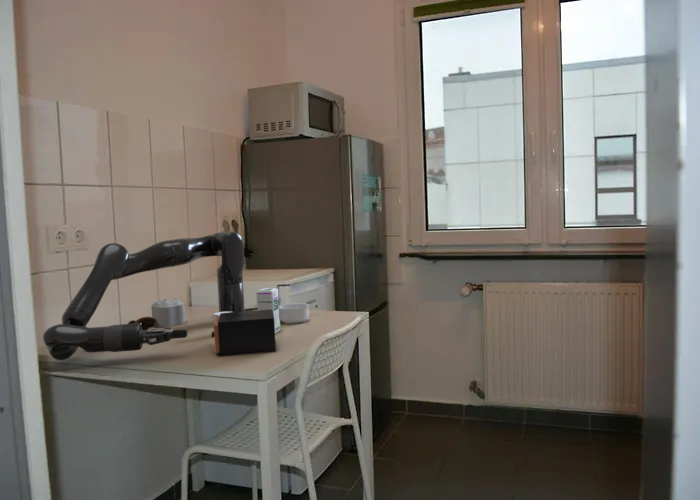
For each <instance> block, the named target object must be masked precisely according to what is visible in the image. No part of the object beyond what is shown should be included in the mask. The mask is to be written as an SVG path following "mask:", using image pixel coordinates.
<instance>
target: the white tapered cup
mask: <svg viewBox="0 0 700 500" xmlns="http://www.w3.org/2000/svg"><path fill="white" fill-rule="evenodd" d="M220 313H230V311H224V312H219V311H217V312H213V313H212V319H213V325H214V324H215V320H216V317H220Z"/></svg>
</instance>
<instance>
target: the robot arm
mask: <svg viewBox="0 0 700 500" xmlns="http://www.w3.org/2000/svg"><path fill="white" fill-rule="evenodd" d="M209 257H221V264H220V265H219V267H217V268H216V282H217V298H218V312H224V311H230V312H244V311H258V309H257V307H256V306H255V307H249V308H245V294H244V293H245V292H244V277H243V276H244V274H243V269H244V266H245V244H244V239H243V237H242V236H241V234H240V233H238V232H236V231H219V232H216V233H212V234H209V235H205V236H200V237H183V238H173V239H167V240H163V241H159V242H156V243H154V244H151V245H150V246H148V247H145V248H143V249H142V250H140V251H137V252H134V253H129V251H128V249H127V248H126V247H125V246H123V244H120V243H116V242H110V243H107V244H105V245H103V246H102V247H101V248H100V249H99V251H98V253H97V254H96V257H95V260H94V263H93V268H92V269H91V271H90V273H89V274H88V276H87V278H86V279H85V280H84V282H83V283H82V286H81V287H80V288H79V290H77V292H76V294H75V295H74V297H73V298H72V300H71V301H70V303H69V304H68V305H67V307H66V309H65V310H64V312H63V313H62V315H61V323H59V324H54V325H52V326H50V327H48V328H47V329H46V330H45V331H44V332H43V335H42V340H43V343H44V345H45V347H46V349H47V351H48V353H49V354H50V356H51V357H52V358H53V359H54V360H56V361H65V360H68V359H70V358H71V357H72V356H73V355H75V353H76V352H77V351H78V348H81V349H82V350H83V351H84V352H86V353H89V354H93V353H94V354H95V353H108V352H109V353H117V352H118V353H120V352H133V351H134V352H135V351H140V350H141V349H142V348H143V344H147V345H149V346H154V345H157V344H162V343H168V342H170V341H172V340H174V339H186V338H187V337H188V329H186V328H181V329H174V328H172V327H160V326H158V327H156V328H148V330H142V326H141V324H142V323H140V324H139V323H136V324H128V323H122V324H112V325H106V326H94V327H89V326H87V325H88V324H89V322H90V320H91V319H92V317H93V315H94V314H95V312H96V311H97V309H98V307H99V305H100V303H101V301H102V299H103V296H104V295H105V292H106V291H107V288H108V287H109V285H110V284H111V282H112V281H115V280H119V279H123V278H127V277H131V276H133V275H136V274H141V273H144V272H145V273H146V272H151V271H155V270H160V269H167V268H174V267H178V266H184V265H187V264H190V263H192V262H194V261H196V260H198V259H201V258H209Z"/></svg>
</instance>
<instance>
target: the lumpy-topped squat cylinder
mask: <svg viewBox="0 0 700 500" xmlns="http://www.w3.org/2000/svg"><path fill="white" fill-rule="evenodd" d="M150 307H151V317H152V318H155V319H156V320H157V322H158V323H159V324H160V326H159V327H166V328H169V327H172V326H173V327H174V326H178V325H183V324H185V323H186V311H185V303H184V302H182V301H180V299H179V298H173V299H169V298H164V299H163V300H162V299H157V300H156V301H154V302H153V303H152V304H151V306H150ZM154 325H155V324H154Z"/></svg>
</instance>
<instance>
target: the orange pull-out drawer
mask: <svg viewBox="0 0 700 500" xmlns="http://www.w3.org/2000/svg"><path fill="white" fill-rule="evenodd" d="M218 320H219V317H216V320H215V324H214V323H213V331H211V338H214V352H215V354H216V353H220V350H219V333H218Z"/></svg>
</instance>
